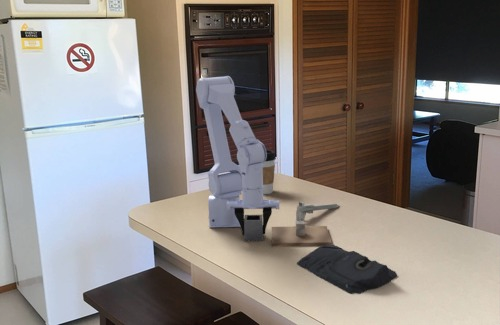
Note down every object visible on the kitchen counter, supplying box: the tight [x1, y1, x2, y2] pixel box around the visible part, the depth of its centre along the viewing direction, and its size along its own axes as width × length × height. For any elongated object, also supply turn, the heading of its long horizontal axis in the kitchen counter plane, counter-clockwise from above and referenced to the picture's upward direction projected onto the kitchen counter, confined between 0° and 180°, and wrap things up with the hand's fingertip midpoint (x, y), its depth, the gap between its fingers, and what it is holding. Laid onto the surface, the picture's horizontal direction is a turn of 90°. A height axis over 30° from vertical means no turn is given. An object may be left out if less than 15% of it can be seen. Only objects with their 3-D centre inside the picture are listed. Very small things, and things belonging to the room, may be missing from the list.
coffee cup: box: [262, 149, 277, 195], centre depth 187 cm, size 8×8×15 cm
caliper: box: [295, 201, 340, 222], centre depth 165 cm, size 20×1×6 cm, turn 134°
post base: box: [271, 220, 333, 247], centre depth 147 cm, size 16×12×5 cm
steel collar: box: [244, 214, 264, 242], centre depth 147 cm, size 5×5×6 cm
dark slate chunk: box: [296, 243, 398, 295], centre depth 126 cm, size 15×22×5 cm
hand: (253, 233), depth 147 cm, fingers closed on steel collar, 5 cm apart
